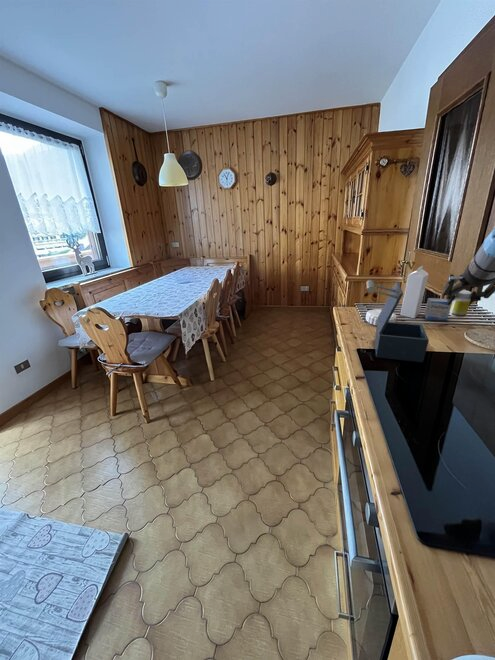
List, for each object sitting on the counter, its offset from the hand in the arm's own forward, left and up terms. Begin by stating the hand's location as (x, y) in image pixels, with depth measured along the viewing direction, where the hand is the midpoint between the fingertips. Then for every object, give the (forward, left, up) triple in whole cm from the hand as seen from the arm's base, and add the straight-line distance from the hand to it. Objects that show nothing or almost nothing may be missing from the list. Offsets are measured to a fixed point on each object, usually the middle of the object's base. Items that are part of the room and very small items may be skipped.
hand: (457, 302), depth 98 cm
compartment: (+8, +19, -16) cm, 26 cm away
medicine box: (+12, -18, -16) cm, 27 cm away
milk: (+21, -14, -16) cm, 30 cm away
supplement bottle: (-2, +3, -3) cm, 5 cm away
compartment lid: (+12, +21, 0) cm, 25 cm away
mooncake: (+26, +1, -16) cm, 31 cm away
